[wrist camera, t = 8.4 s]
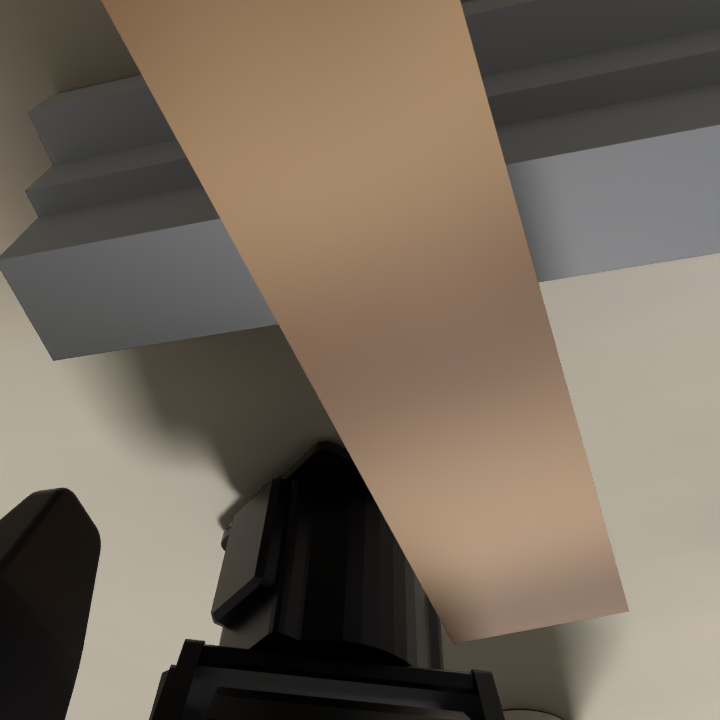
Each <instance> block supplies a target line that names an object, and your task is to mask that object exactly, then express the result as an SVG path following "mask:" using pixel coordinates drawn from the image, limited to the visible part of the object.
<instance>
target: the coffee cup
mask: <svg viewBox="0 0 720 720" xmlns="http://www.w3.org/2000/svg"><path fill="white" fill-rule="evenodd" d="M503 714H504V718H505V720H562V719H560V718H558V717H556V716H553V715H550V714H547V713H543V712H538V711H530V710H508V711H503Z"/></svg>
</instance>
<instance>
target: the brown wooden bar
mask: <svg viewBox="0 0 720 720" xmlns="http://www.w3.org/2000/svg"><path fill="white" fill-rule="evenodd" d="M101 1H102V3H103V5H104V7H105V9H106V10H107V12H108V14H109V16H110V18H111V20H112V21H113V23H114V25H115V27H116V29H117V31H118V32H119V34H120V36H121V38H122V40H123V41H124V43H125V45H126V47H127V49H128V51H129V52H130V54H131V56H132V58H133V60H134V62H135V63H136V65H137V67H138V69H139V71H140V73H141V74H142V76H143V78H144V80H145V82H146V83H147V85H148V87H149V89H150V91H151V93H152V94H153V96H154V98H155V100H156V102H157V104H158V105H159V107H160V109H161V111H162V113H163V114H164V116H165V118H166V120H167V122H168V124H169V125H170V127H171V129H172V131H173V133H174V135H175V136H176V138H177V140H178V142H179V144H180V146H181V147H182V149H183V151H184V153H185V155H186V156H187V158H188V160H189V162H190V164H191V166H192V167H193V169H194V171H195V173H196V175H197V177H198V178H199V180H200V182H201V184H202V186H203V188H204V189H205V191H206V193H207V195H208V197H209V198H210V200H211V202H212V204H213V206H214V208H215V209H216V211H217V213H218V215H219V217H220V219H221V220H222V222H223V224H224V226H225V228H226V229H227V231H228V233H229V235H230V237H231V239H232V240H233V242H234V244H235V246H236V248H237V250H238V251H239V253H240V255H241V257H242V259H243V261H244V262H245V264H246V266H247V268H248V270H249V271H250V273H251V275H252V277H253V279H254V281H255V282H256V284H257V286H258V288H259V290H260V292H261V293H262V295H263V297H264V299H265V301H266V303H267V304H268V306H269V308H270V310H271V312H272V313H273V315H274V317H275V319H276V321H277V323H278V324H279V326H280V328H281V330H282V332H283V334H284V335H285V337H286V339H287V341H288V343H289V344H290V346H291V348H292V350H293V352H294V354H295V355H296V357H297V359H298V361H299V363H300V365H301V366H302V368H303V370H304V372H305V374H306V376H307V377H308V379H309V381H310V383H311V385H312V386H313V388H314V390H315V392H316V394H317V396H318V397H319V399H320V401H321V403H322V405H323V407H324V408H325V410H326V412H327V414H328V416H329V417H330V419H331V421H332V423H333V425H334V427H335V428H336V430H337V432H338V434H339V436H340V438H341V439H342V441H343V443H344V445H345V447H346V449H347V450H348V452H349V454H350V456H351V458H352V459H353V461H354V463H355V465H356V467H357V469H358V470H359V472H360V474H361V476H362V478H363V480H364V481H365V483H366V485H367V487H368V489H369V491H370V492H371V494H372V496H373V498H374V500H375V501H376V503H377V505H378V507H379V509H380V511H381V512H382V514H383V516H384V518H385V520H386V522H387V523H388V525H389V527H390V529H391V531H392V532H393V534H394V536H395V538H396V540H397V542H398V543H399V545H400V547H401V549H402V551H403V553H404V554H405V556H406V558H407V560H408V562H409V564H410V565H411V567H412V569H413V571H414V573H415V574H416V576H417V578H418V580H419V582H420V584H421V585H422V587H423V589H424V591H425V593H426V595H427V596H428V598H429V600H430V602H431V604H432V606H433V607H434V609H435V611H436V613H437V615H438V616H439V618H440V620H441V622H442V624H443V626H444V627H445V629H446V631H447V633H448V635H449V637H450V638H451V640H452V642H453V644H457V643H462V642H467V641H473V640H478V639H483V638H489V637H494V636H499V635H505V634H510V633H515V632H521V631H526V630H532V629H537V628H542V627H548V626H553V625H558V624H564V623H569V622H574V621H580V620H585V619H590V618H596V617H601V616H607V615H612V614H617V613H623V612H628V611H629V609H628V606H627V602H626V598H625V595H624V591H623V588H622V584H621V580H620V577H619V573H618V570H617V566H616V562H615V559H614V555H613V551H612V548H611V544H610V541H609V537H608V533H607V530H606V526H605V522H604V519H603V515H602V512H601V508H600V504H599V501H598V497H597V494H596V490H595V486H594V483H593V479H592V475H591V472H590V468H589V465H588V461H587V457H586V454H585V450H584V447H583V443H582V439H581V436H580V432H579V428H578V425H577V421H576V418H575V414H574V410H573V407H572V403H571V400H570V396H569V392H568V389H567V385H566V381H565V378H564V374H563V371H562V367H561V363H560V360H559V356H558V352H557V349H556V345H555V342H554V338H553V334H552V331H551V327H550V324H549V320H548V316H547V313H546V309H545V305H544V302H543V298H542V295H541V291H540V287H539V284H538V280H537V277H536V273H535V269H534V266H533V262H532V258H531V255H530V251H529V248H528V244H527V240H526V237H525V233H524V230H523V226H522V222H521V219H520V215H519V211H518V208H517V204H516V201H515V197H514V193H513V190H512V186H511V182H510V179H509V175H508V172H507V168H506V164H505V161H504V157H503V154H502V150H501V146H500V143H499V139H498V135H497V132H496V128H495V125H494V121H493V117H492V114H491V110H490V107H489V103H488V99H487V96H486V92H485V88H484V85H483V81H482V78H481V74H480V70H479V67H478V63H477V60H476V56H475V52H474V49H473V45H472V41H471V38H470V34H469V31H468V27H467V23H466V20H465V16H464V13H463V9H462V5H461V2H460V0H101Z"/></svg>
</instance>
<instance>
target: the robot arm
mask: <svg viewBox="0 0 720 720" xmlns="http://www.w3.org/2000/svg"><path fill="white" fill-rule="evenodd" d="M325 455H326V456H329V457H330V458H323V457H321V456H325ZM221 546H222V548H223V549H224V550H225V555H224V559H223V564H222V568H221V572H220V576H219V581H218V585H217V589H216V593H215V598H214V602H213V606H212V610H211V615H212V619H213V622H214V623H215V624H217V625H220V626H222V627H223V629H222V634H221V638H220V643H219V646H215V645H206V644H205V641H201V640H191V639H185V642H184V645H183V648H182V650H181V653H180V656H179V659H178V662H177V665H171V666H170V669H169V670H168V671H165V672H163V673H162V676H161V679H160V683H159V686H158V690H157V694H156V697H155V701H154V704H153V708H152V711H151V715H150V718H149V720H505V718H504V714H503V711H502V707H501V703H500V700H499V696H498V693H497V689H496V686H495V682H494V679H493V675H492V673H491V672H490V671H482V670H471V672H470V673H469V672H459V671H450V670H444V668H443V653H442V639H441V625H440V618H439V616H438V615H437V613H436V611H435V609H434V607H433V606H432V604H431V602H430V600H429V598H428V596H427V595H426V593H425V591H424V589H423V587H422V585H421V584H420V582H419V580H418V578H417V576H416V574H415V573H414V571H413V569H412V567H411V565H410V564H409V562H408V560H407V558H406V556H405V554H404V553H403V551H402V549H401V547H400V545H399V543H398V542H397V540H396V538H395V536H394V534H393V532H392V531H391V529H390V527H389V525H388V523H387V522H386V520H385V518H384V516H383V514H382V512H381V511H380V509H379V507H378V505H377V503H376V501H375V500H374V498H373V496H372V494H371V492H370V491H369V489H368V487H367V485H366V483H365V481H364V480H363V478H362V476H361V474H360V472H359V470H358V469H357V467H356V465H355V463H354V461H353V459H352V458H351V456H350V454H349V452H348V451H346V450H345V449H343V448H341V447H340V446H338V445H336V444H334V443H332V442H326V441H323V442H318V443H317V444H315V445H314V446H313V447H312V448H310V449H309V450H308V451H307V452H306V453H305V454H304V455H303V456H302V457H301V458H300V459H299V460H298V461H297V462H296V463H295V464H294V465H293V466H292V467H291V468H290V469H289V470H288V471H287V472H286V473H285V474H284V475H283V476H282V477H276V478H274V479H271V480H270V481H269V482H268V483H267V484H266V485H265V486H264V487H263V488H262V489H261V490H260V491H259V492H258V493H257V494H256V495H255V496H254V497H253V498H252V499H251V500H250V501H249V502H248V503H247V504H246V505H244V506H243V507H242V508H241V509H240V510H239V511H238V512H237V513H236V514H235V515H234V517H233V521H232V525H231V526H230V527H229V528H228V529H227V530H226V531H225V532H224V534H223V538H222V542H221ZM100 549H101V540H100V535H99V532H98V529H97V527H96V526H95V524H94V523H93V521H92V520H91V518H90V517H89V515H88V514H87V512H86V511H85V509H84V507H83V506H82V504H81V503H80V501H79V500H78V498H77V497H76V495H75V494H74V493H73V492H72V491H70V490H69V489H67V488H56V489H48V490H41V491H37V492H34V493H32V494H30V495H29V496H28V497H27V498H25V499H24V500H23V501H22V502H21V503H20V504H18V505H17V506H16V507H15V508H14V509H12V510H11V511H10V512H9V513H8V514H6V515H5V516H4V517H3V518H2V519H1V520H0V720H65V717H66V713H67V710H68V706H69V702H70V699H71V695H72V692H73V689H74V685H75V681H76V677H77V673H78V669H79V665H80V660H81V655H82V651H83V646H84V640H85V635H86V629H87V623H88V618H89V612H90V606H91V601H92V595H93V590H94V584H95V578H96V573H97V567H98V561H99V556H100Z"/></svg>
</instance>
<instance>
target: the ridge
mask: <svg viewBox="0 0 720 720" xmlns="http://www.w3.org/2000/svg"><path fill="white" fill-rule="evenodd" d="M461 5H462V9H463V13H464V16H465V20H466V23H467V27H468V31H469V34H470V38H471V41H472V45H473V49H474V52H475V56H476V60H477V63H478V67H479V70H480V74H481V78H482V81H483V85H484V88H485V92H486V96H487V99H488V103H489V107H490V110H491V114H492V117H493V121H494V125H495V128H496V132H497V135H498V139H499V143H500V146H501V150H502V154H503V157H504V161H505V164H506V168H507V172H508V175H509V179H510V182H511V186H512V190H513V193H514V197H515V201H516V204H517V208H518V211H519V215H520V219H521V222H522V226H523V230H524V233H525V237H526V240H527V244H528V248H529V251H530V255H531V258H532V262H533V266H534V269H535V273H536V277H537V280H538V282H543V281H549V280H555V279H561V278H568V277H574V276H580V275H586V274H592V273H598V272H605V271H611V270H617V269H623V268H629V267H636V266H642V265H648V264H654V263H660V262H666V261H673V260H679V259H685V258H691V257H697V256H703V255H710V254H716V253H720V0H472V1H467V2H463V3H461ZM28 114H29V116H30V118H31V120H32V122H33V124H34V126H35V128H36V130H37V132H38V135H39V137H40V139H41V141H42V143H43V145H44V147H45V149H46V151H47V153H48V155H49V157H50V159H51V162H52V164H53V166H52V167H51V168H50V169H49V170H48V171H47V172H46V173H45V174H44V175H42V176H41V177H40V178H39V179H38V180H37V181H36V182H35V183H33V184H32V185H31V186H30V187H29V188H28V189H27V190H26V191H25V192H26V194H27V196H28V198H29V199H30V201H31V203H32V205H33V207H34V209H35V211H36V213H37V215H38V218H37V219H36V220H35V221H34V222H33V223H32V224H31V225H30V226H29V227H28V228H27V229H26V230H25V231H24V232H23V233H22V234H21V236H20V237H19V238H18V239H17V240H16V241H15V242H14V243H13V244H12V245H11V246H10V247H9V248H8V249H7V250H6V251H5V252H4V253H3V254H2V255H1V256H0V270H1V271H2V273H3V275H4V277H5V278H6V280H7V282H8V284H9V285H10V287H11V289H12V290H13V292H14V294H15V296H16V297H17V299H18V301H19V302H20V304H21V306H22V308H23V309H24V311H25V313H26V315H27V316H28V318H29V320H30V321H31V323H32V325H33V327H34V328H35V330H36V332H37V333H38V335H39V337H40V339H41V340H42V342H43V344H44V346H45V347H46V349H47V351H48V352H49V354H50V356H51V358H52V359H53V361H55V360H61V359H67V358H74V357H80V356H86V355H92V354H98V353H104V352H111V351H117V350H123V349H129V348H135V347H142V346H148V345H154V344H160V343H166V342H172V341H179V340H185V339H191V338H197V337H203V336H209V335H216V334H222V333H228V332H234V331H240V330H246V329H253V328H259V327H265V326H271V325H277V324H278V323H277V321H276V319H275V317H274V315H273V313H272V312H271V310H270V308H269V306H268V304H267V303H266V301H265V299H264V297H263V295H262V293H261V292H260V290H259V288H258V286H257V284H256V282H255V281H254V279H253V277H252V275H251V273H250V271H249V270H248V268H247V266H246V264H245V262H244V261H243V259H242V257H241V255H240V253H239V251H238V250H237V248H236V246H235V244H234V242H233V240H232V239H231V237H230V235H229V233H228V231H227V229H226V228H225V226H224V224H223V222H222V220H221V219H220V217H219V215H218V213H217V211H216V209H215V208H214V206H213V204H212V202H211V200H210V198H209V197H208V195H207V193H206V191H205V189H204V188H203V186H202V184H201V182H200V180H199V178H198V177H197V175H196V173H195V171H194V169H193V167H192V166H191V164H190V162H189V160H188V158H187V156H186V155H185V153H184V151H183V149H182V147H181V146H180V144H179V142H178V140H177V138H176V136H175V135H174V133H173V131H172V129H171V127H170V125H169V124H168V122H167V120H166V118H165V116H164V114H163V113H162V111H161V109H160V107H159V105H158V104H157V102H156V100H155V98H154V96H153V94H152V93H151V91H150V89H149V87H148V85H147V83H146V82H145V80H144V78H143V76H142V75H138V76H133V77H129V78H124V79H120V80H115V81H111V82H107V83H102V84H98V85H93V86H89V87H84V88H80V89H75V90H71V91H66V92H62V93H58V94H55V95H53V96H52V97H50V98H49V99H47V100H46V101H44V102H43V103H41V104H40V105H38V106H37V107H36V108H34V109H33V110H31V111H30V112H28Z"/></svg>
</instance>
